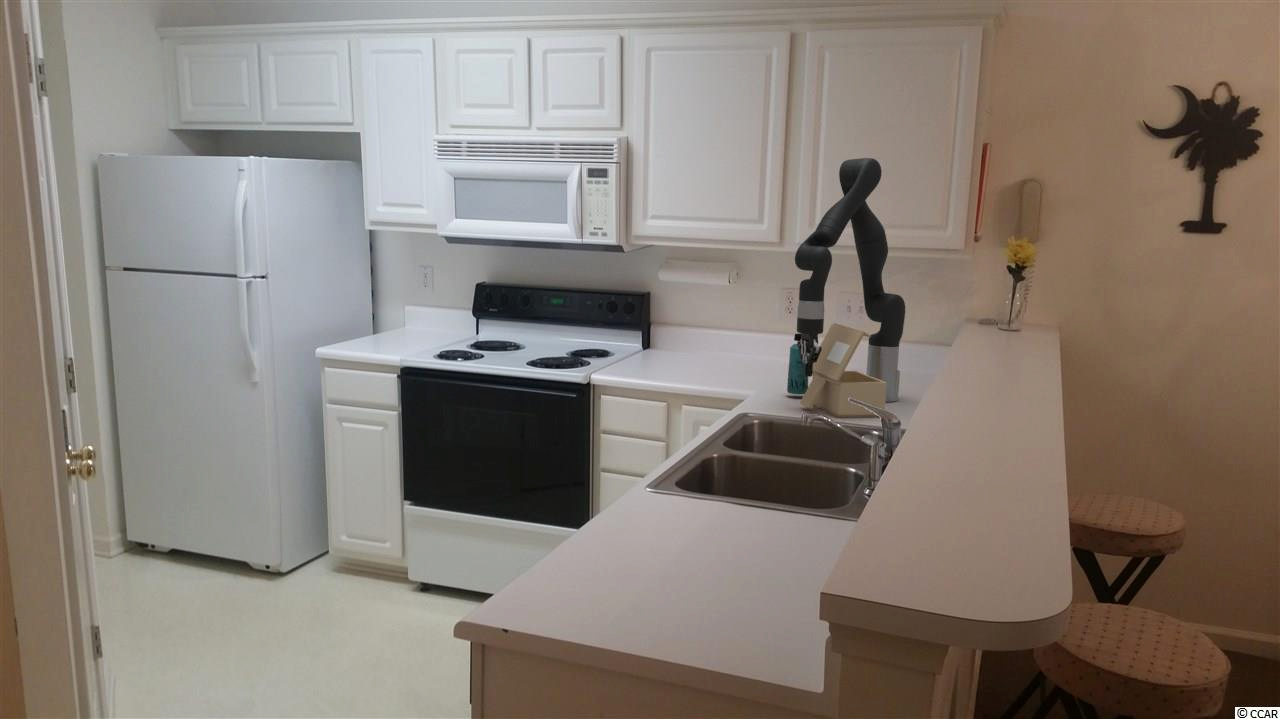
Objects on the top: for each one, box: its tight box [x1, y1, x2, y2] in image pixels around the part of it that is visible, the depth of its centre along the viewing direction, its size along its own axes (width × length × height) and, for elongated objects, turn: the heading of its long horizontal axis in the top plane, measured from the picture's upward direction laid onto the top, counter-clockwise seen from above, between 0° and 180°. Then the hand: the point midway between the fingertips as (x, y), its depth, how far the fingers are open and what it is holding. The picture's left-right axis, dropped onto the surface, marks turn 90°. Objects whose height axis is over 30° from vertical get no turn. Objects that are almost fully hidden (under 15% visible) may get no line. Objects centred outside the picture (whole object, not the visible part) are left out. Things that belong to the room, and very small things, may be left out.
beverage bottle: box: [786, 333, 809, 395], centre depth 292 cm, size 6×7×20 cm
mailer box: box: [812, 370, 887, 419], centre depth 275 cm, size 14×20×10 cm
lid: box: [799, 322, 872, 410], centre depth 273 cm, size 26×21×3 cm
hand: (807, 376), depth 272 cm, fingers closed
